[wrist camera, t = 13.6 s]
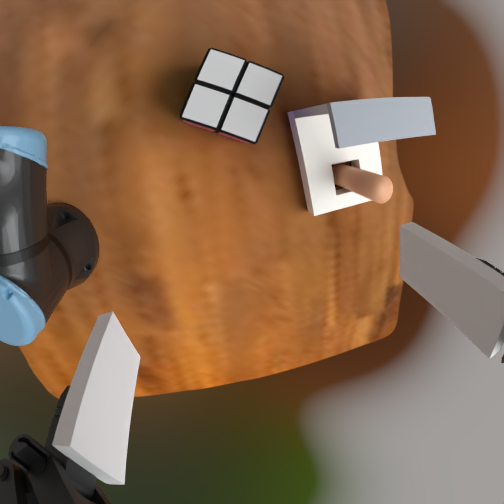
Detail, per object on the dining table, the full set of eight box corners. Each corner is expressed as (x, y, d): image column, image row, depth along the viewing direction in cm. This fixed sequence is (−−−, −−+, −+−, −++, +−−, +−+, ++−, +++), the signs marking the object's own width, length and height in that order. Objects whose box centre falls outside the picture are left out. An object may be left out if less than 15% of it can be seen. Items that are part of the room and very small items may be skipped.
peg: (328, 166, 45) (369, 178, 33) (347, 161, 45) (391, 173, 34) (331, 187, 47) (371, 206, 35) (350, 182, 47) (393, 200, 35)
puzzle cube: (244, 143, 42) (256, 145, 33) (183, 123, 39) (177, 118, 30) (267, 87, 39) (286, 74, 30) (207, 65, 36) (209, 46, 27)
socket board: (305, 211, 48) (352, 250, 32) (284, 112, 41) (330, 102, 25) (377, 192, 49) (439, 220, 33) (364, 102, 42) (430, 97, 26)
